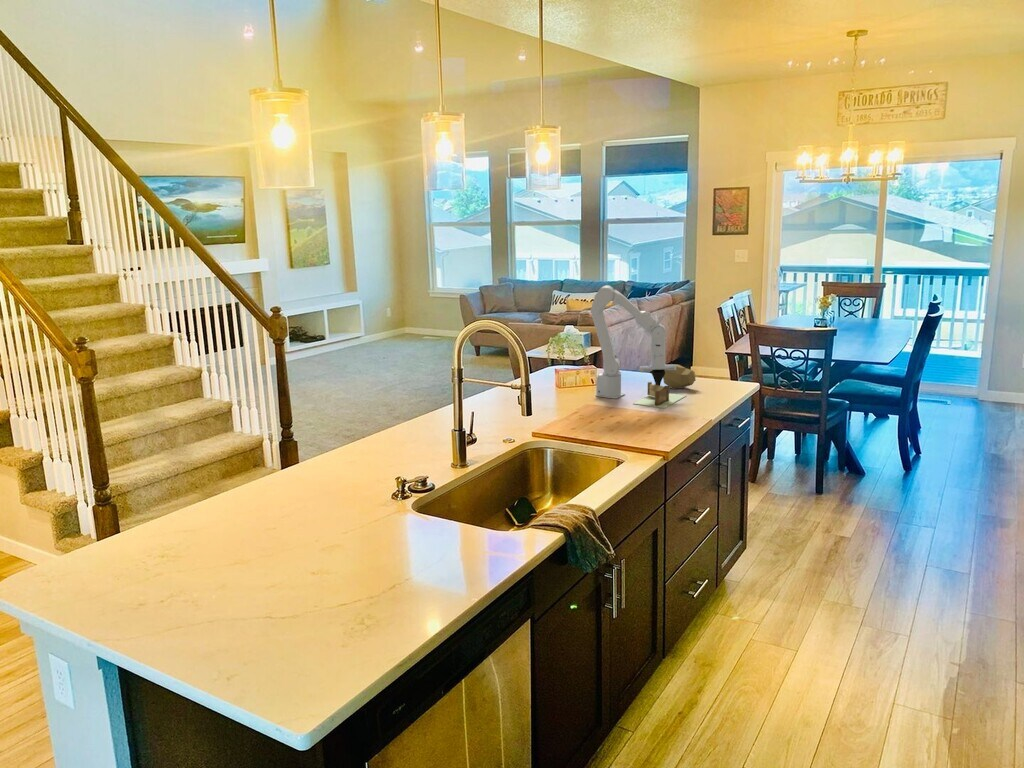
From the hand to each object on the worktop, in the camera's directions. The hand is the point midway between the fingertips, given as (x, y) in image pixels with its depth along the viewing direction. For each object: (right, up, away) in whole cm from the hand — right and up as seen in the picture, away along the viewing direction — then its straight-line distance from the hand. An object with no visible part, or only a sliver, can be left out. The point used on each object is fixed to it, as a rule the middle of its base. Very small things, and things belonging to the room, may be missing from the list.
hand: (657, 388), depth 304 cm
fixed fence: (0, -6, -9) cm, 10 cm away
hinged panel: (-1, -3, -1) cm, 3 cm away
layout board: (0, -5, -4) cm, 6 cm away
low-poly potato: (+12, 0, +16) cm, 20 cm away
